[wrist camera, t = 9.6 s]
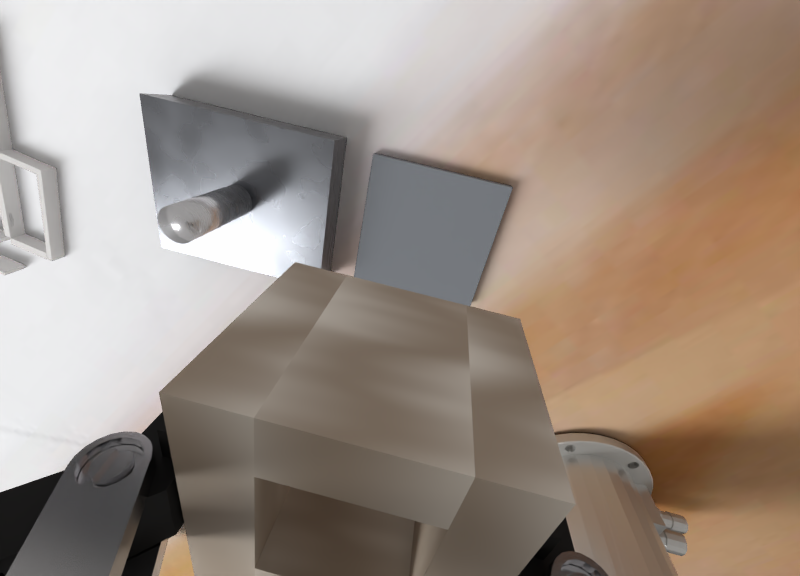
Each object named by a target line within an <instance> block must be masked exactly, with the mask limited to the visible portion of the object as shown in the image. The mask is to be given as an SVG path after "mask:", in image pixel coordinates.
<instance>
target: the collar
mask: <svg viewBox="0 0 800 576" xmlns="http://www.w3.org/2000/svg"><path fill="white" fill-rule="evenodd" d="M159 395H160V400H161V405H162V410H163V415H164V421H165V426H166V431H167V436H168V441H169V446H170V452H171V457H172V462H173V467H174V472H175V477H176V483H177V488H178V493H179V498H180V503H181V508H182V513H183V519H184V524H185V529H186V534H187V539H188V544H189V550H190V555H191V560H192V565H193V570H194V575H195V576H518V575H519V574H520V572H521V571H522V570H523V569H524V567H525V566H526V565H527V564H528V563H529V561H530V560H531V559H532V558H533V556H534V555H535V554H536V553H537V551H538V550H539V549H540V548H541V547H542V545H543V544H544V543H545V542H546V540H547V539H548V538H549V537H550V536H551V534H552V533H553V532H554V531H555V529H556V528H557V527H558V526H559V524H560V523H561V522H562V521H563V520H564V518H565V517H566V516H567V515H568V513H569V512H570V511H571V510H572V508H573V507H574V506H575V505H576V503H575V500H574V497H573V493H572V490H571V487H570V483H569V480H568V477H567V473H566V470H565V467H564V463H563V460H562V457H561V453H560V450H559V447H558V443H557V440H556V437H555V433H554V430H553V427H552V424H551V420H550V417H549V414H548V410H547V407H546V404H545V400H544V397H543V394H542V390H541V387H540V384H539V380H538V377H537V374H536V370H535V367H534V364H533V360H532V357H531V354H530V350H529V347H528V344H527V340H526V337H525V334H524V331H523V327H522V324H521V321H520V319H518V318H514V317H510V316H506V315H502V314H498V313H494V312H490V311H486V310H482V309H479V308H475V307H471V306H467V305H463V304H459V303H455V302H451V301H447V300H443V299H439V298H435V297H431V296H427V295H423V294H419V293H415V292H411V291H407V290H403V289H400V288H396V287H392V286H388V285H384V284H380V283H376V282H372V281H368V280H364V279H360V278H356V277H352V276H348V275H344V274H340V273H336V272H332V271H328V270H324V269H321V268H317V267H313V266H309V265H305V264H301V263H297V262H295V263H294V264H293V265H292V266H291V267H289V268H288V269H287V270H286V271H285V272H284V273H283V274H282V275H281V276H280V277H279V278H278V279H277V280H276V281H275V282H274V283H273V284H272V285H271V286H270V287H269V288H268V289H267V290H265V291H264V292H263V293H262V294H261V295H260V296H259V297H258V298H257V299H256V300H255V301H254V302H253V303H252V304H251V305H250V306H249V307H248V308H247V309H246V310H245V311H244V312H243V313H241V314H240V315H239V316H238V317H237V318H236V319H235V320H234V321H233V322H232V323H231V324H230V325H229V326H228V327H227V328H226V329H225V330H224V331H223V332H222V333H221V334H220V335H218V336H217V337H216V338H215V339H214V340H213V341H212V342H211V343H210V344H209V345H208V346H207V347H206V348H205V349H204V350H203V351H202V352H201V353H200V354H199V355H198V356H197V357H196V358H194V359H193V360H192V361H191V362H190V363H189V364H188V365H187V366H186V367H185V368H184V369H183V370H182V371H181V372H180V373H179V374H178V375H177V376H176V377H175V378H174V379H173V380H172V381H170V382H169V383H168V384H167V385H166V386H165V387H164V388H163V389H162V390H161V391H160V392H159Z"/></svg>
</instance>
